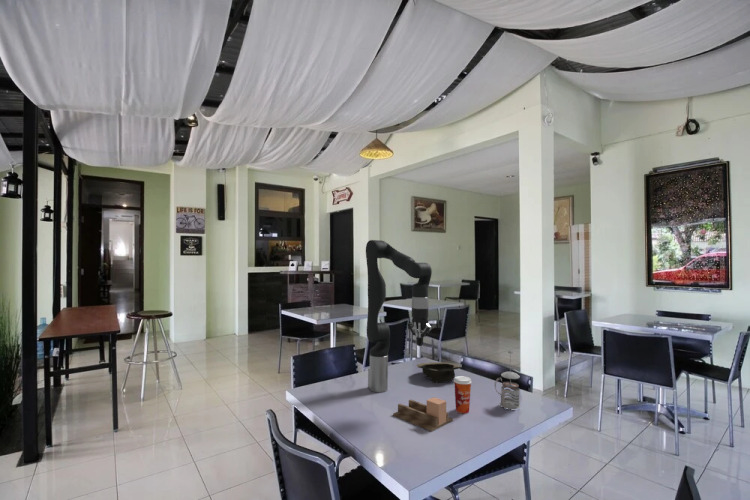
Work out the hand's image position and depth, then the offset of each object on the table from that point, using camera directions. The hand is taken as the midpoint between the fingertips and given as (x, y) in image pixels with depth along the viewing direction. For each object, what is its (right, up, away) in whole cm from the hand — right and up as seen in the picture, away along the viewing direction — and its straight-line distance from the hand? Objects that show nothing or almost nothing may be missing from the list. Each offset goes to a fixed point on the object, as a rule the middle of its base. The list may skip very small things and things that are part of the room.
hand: (419, 345), depth 168 cm
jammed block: (+4, -25, -18) cm, 32 cm away
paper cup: (+18, -27, -5) cm, 33 cm away
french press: (+40, -28, +1) cm, 49 cm away
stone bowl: (+15, -29, +41) cm, 52 cm away
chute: (0, -27, -13) cm, 30 cm away
